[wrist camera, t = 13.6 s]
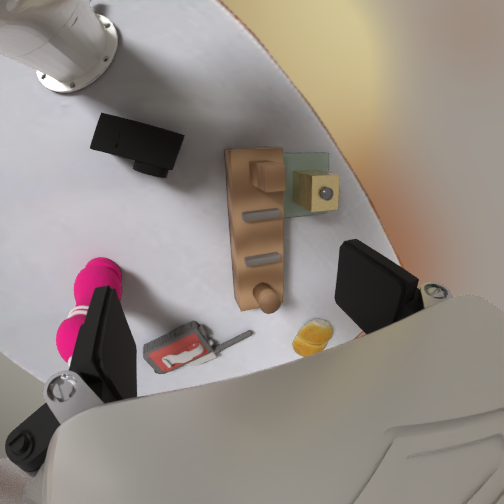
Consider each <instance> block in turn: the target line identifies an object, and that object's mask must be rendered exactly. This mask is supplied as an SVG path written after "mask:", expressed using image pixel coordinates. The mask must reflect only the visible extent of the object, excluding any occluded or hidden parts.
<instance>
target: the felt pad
mask: <svg viewBox="0 0 504 504" xmlns="http://www.w3.org/2000/svg"><path fill="white" fill-rule="evenodd" d="M283 164H285V184H286V191H283V207H284V218H288V217H296V216H304V215H313V214H322V213H327V211H317V212H310V211H308V210H307V209H305V208H303V207H301V206H299V205H297V204H295V203H294V202H293V170H315V169H318V170H322V171H326V172H328V164H329V153H283Z"/></svg>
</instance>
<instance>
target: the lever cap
mask: <svg viewBox="0 0 504 504" xmlns="http://www.w3.org/2000/svg"><path fill="white" fill-rule="evenodd" d="M338 198H339V175H337V174H333V173H330V172H326V171H322V170H318V169H315V170H293V202H294V203H295V204H297V205H299V206H301V207H303V208H305V209H307V210H308V211H310V212H317V211H327V210H338Z"/></svg>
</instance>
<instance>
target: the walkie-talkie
mask: <svg viewBox="0 0 504 504" xmlns="http://www.w3.org/2000/svg"><path fill="white" fill-rule="evenodd" d="M207 335H208V333H207V331H206V329H205V327H204V326H203V325H200V327H199V325H198V324H197V322H196V321H192V322H190V323H188V324H186V325H184V326H182V327H179V328H177V329H175V330H173V331H171V332H169V333H168V334H166V335H164V336H161V337H159V338H158V339H156V340H154V341H151V342H149V343H146V344H144V347H143V357H144V359H145V360H146V361H147V363H148V364H149V365H150V366H151V367H152V368H153V369H154V371H155V373H158V374H165V373H167V372H169V371H172V370H174V369H177V368H179V367H181V366H183V365H185V366H186V365H192V366H198V365H200V364H202V363H205V362H207V361H209V360H211V359H215V358H217V356H216V353H218V352H220V351H221V350H223V349H225V348H227V347H229V346H231V345H233V344H235V343H237V342H239V341H241V340H243V339H245V338H247V337H249V336H251V335H252V331H250V330H248V331H247V332H245V333H243V334H241V335H239V336H237V337H235V338H233V339H231V340H229V341H227V342H225V343H223V344H221V345H217V346H215V347H213V348H212V345H213V343H214V342H213V340H212V339H211V340H210V339H208V338H207Z"/></svg>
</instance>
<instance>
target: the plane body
mask: <svg viewBox="0 0 504 504" xmlns="http://www.w3.org/2000/svg"><path fill="white" fill-rule="evenodd" d="M224 151H225V168H226V185H227V201H228V216H229V230H230V244H231V257H232V270H233V282H234V295H235V300H236V302H237V304H238V306H239V308H240V310H241V311H246V310H250V309H255V308H261V310H262V311H263V312H264V313H267V314H271V313H274V312H275V311H277V310H278V309H279V307H280V305H281V303H282V302H283V244H284V207H283V191H286V184H285V164H283V148H274V147H264V148H244V149H229V150H224Z"/></svg>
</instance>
